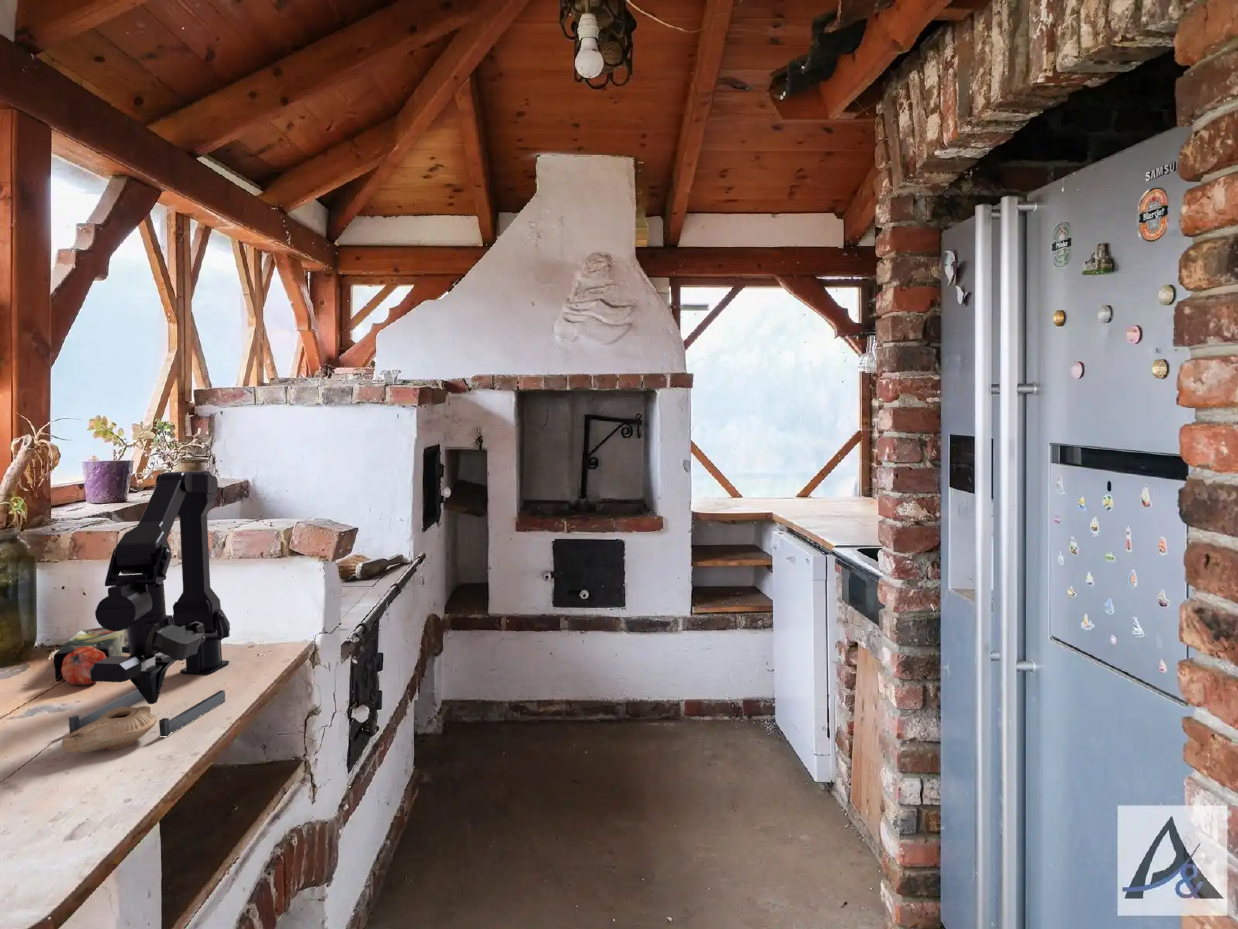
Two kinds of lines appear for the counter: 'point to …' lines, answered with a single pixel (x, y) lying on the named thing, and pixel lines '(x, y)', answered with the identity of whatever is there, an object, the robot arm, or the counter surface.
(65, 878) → the counter surface
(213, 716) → the counter surface
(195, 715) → the steel chute
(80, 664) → the red round fruit
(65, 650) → the juice carton
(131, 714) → the pottery oil lamp
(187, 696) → the counter surface
